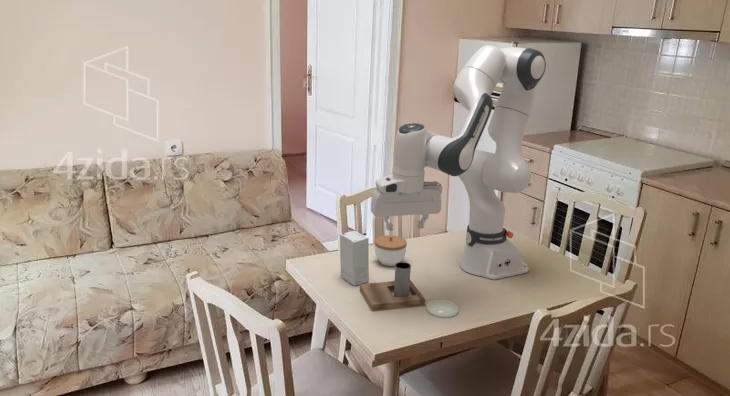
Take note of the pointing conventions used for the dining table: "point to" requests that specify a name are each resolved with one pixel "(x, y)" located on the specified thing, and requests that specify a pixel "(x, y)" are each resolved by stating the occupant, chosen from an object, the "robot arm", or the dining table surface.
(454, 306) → the saucer
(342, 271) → the skincare box
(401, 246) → the lidded jar
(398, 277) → the grey cylinder
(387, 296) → the pocket board
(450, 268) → the dining table surface
